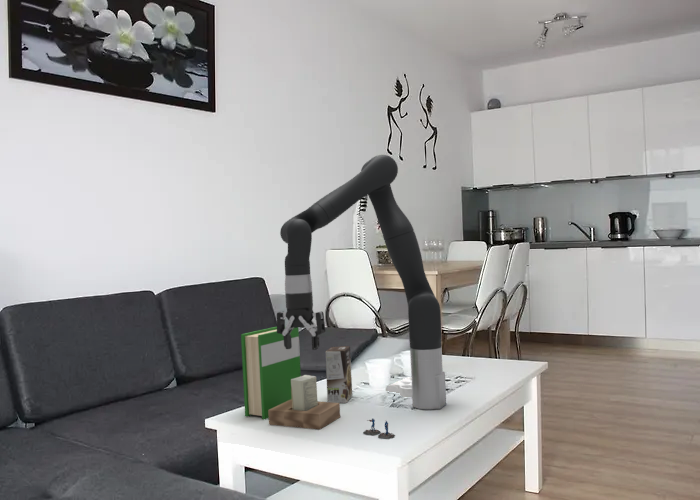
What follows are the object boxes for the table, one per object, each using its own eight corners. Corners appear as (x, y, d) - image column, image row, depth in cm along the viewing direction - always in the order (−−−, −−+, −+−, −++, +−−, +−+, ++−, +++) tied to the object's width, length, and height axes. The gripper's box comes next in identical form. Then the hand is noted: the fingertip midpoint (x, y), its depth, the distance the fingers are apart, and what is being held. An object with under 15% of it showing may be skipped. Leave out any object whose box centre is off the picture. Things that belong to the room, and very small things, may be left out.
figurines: (400, 436, 157) (399, 419, 157) (387, 441, 154) (387, 424, 154) (371, 429, 164) (370, 413, 164) (358, 434, 161) (358, 417, 161)
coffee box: (347, 403, 191) (344, 350, 191) (327, 403, 192) (324, 350, 192) (353, 395, 200) (350, 345, 200) (333, 395, 201) (331, 345, 201)
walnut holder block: (340, 417, 176) (339, 403, 176) (319, 429, 165) (319, 414, 165) (291, 412, 183) (290, 399, 183) (268, 424, 172) (268, 410, 172)
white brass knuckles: (407, 384, 214) (446, 388, 206) (380, 396, 199) (422, 400, 191) (406, 374, 214) (446, 377, 206) (380, 385, 199) (421, 389, 191)
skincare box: (307, 417, 178) (305, 374, 178) (319, 419, 175) (317, 376, 175) (291, 422, 173) (289, 378, 173) (303, 424, 170) (301, 380, 170)
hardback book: (264, 419, 178) (260, 335, 177) (245, 416, 182) (240, 334, 181) (302, 404, 193) (298, 326, 192) (283, 402, 197) (279, 325, 196)
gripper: (327, 289, 174) (330, 347, 174) (283, 290, 180) (286, 346, 181) (314, 292, 167) (317, 352, 168) (269, 292, 174) (272, 350, 174)
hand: (301, 349), depth 174 cm, fingers open, 8 cm apart
